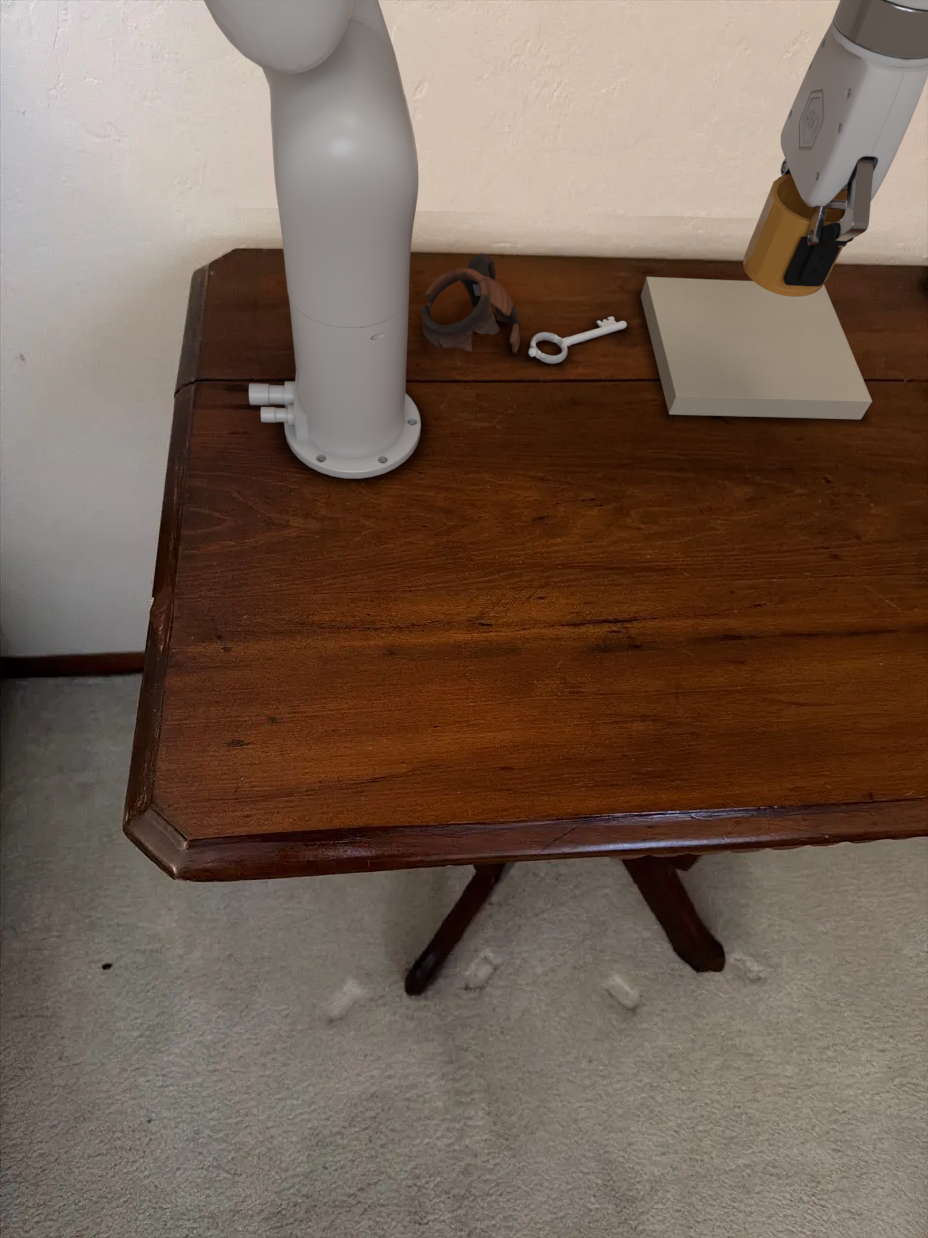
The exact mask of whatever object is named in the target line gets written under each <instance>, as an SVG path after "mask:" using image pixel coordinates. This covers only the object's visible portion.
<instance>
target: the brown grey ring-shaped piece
mask: <svg viewBox="0 0 928 1238" xmlns="http://www.w3.org/2000/svg"><path fill="white" fill-rule="evenodd" d="M459 281H460V282H461V283H462V285H463V287H464V288H465V290H466V291H467V293H468V297H469V299H470V302H471V306H472V307H474V309H473V310H472V311H471V313H470V314H468V316H466V317H465V318H463V319H462V320H460V321H458V322H454V323H452V324H440V323H437V322H436V321H434V320H433V318H432V316H431V310H432V309H431V308H432V306H433V304H434V302H435V301H436V299H437V298H438V296H440V294H441V293H442V292H443V291H444V290H446V289H447V288H448V287H450V286H451V285H453V284H455V283H457V282H459ZM424 297H425V299H426V300H427V303H425V304H423V306H422V307H421V309H420V310H419V313H420V317H421V320H422V334H423V336H424V338H425V339H426V340H427V341H428V342H429V343H430V344H431V345H433V346H434V347H436V348H439V349H440V348H443V349H445V350H446V349H447V350H450V349H462V350H465V351H466V352H470V353H473V351H474V350H473V348H472V347H473V332H475V333H476V334H479V335H490V336H494V335H496V334H498V333H499V332H500V330H501V328H500V325H498V323H497V321H500V322H503V323H505V324H507V325H509V326H510V327H511V328H512V329H511V333H510V337H509V344H510V345H511V351H512V353H513V354H516V353H517V352H518V350H519V347H520V342H521V335H520V322H519V318H518V315H517V311H516V308H515V305H514V303H513V300H512V297H510V295H509V294H508V292H507V291H506V290H505V288H504V287H503V286H502V285H501V284H500V283H499V282H498V281H496V264H495V260H494V259H493V258H492V257H491V256H490V255H488V254H487V253H480V254H476V255H474V256H473V257H472V258H471V259H470V260H469V262H468V264H467V267H459V268H455V269H452V270H449V271H447V272H445V273H442V274H441V275H440V276H438V277H437V278H436V280H434V281H433V282H432V283H431V284H430V285H429V287H428V288H427V289H426V291H425V293H424ZM492 307H494V311H495V314H496V315H495V314H494V311H493V308H492ZM496 320H497V321H496Z"/></svg>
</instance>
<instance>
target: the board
mask: <svg viewBox="0 0 928 1238" xmlns="http://www.w3.org/2000/svg"><path fill="white" fill-rule="evenodd" d="M640 300H641V303H642V304H641V305H642V308H643V312H644V316H645V321H646V325H647V328H648V332H649V337H650V341H651V345H652V350H653V353H654V357H655V362H656V365H657V370H658V374H659V378H660V383H661V387H662V391H663V394H664V399H665V403H666V408H667V412H668V415H670V416H671V415H673V416H675V415H677V416H711V417H713V416H714V417H748V418H750V417H751V418H753V417H755V418H790V419H791V418H792V419H795V418H796V419H830V420H831V419H833V420H862V418H863V417H864V415H865V413H866V412H867V411H868V409H869V408H870V406H871V404H872V403H873V400H872V397H871V395H870V393H869V390H868V387H867V385H866V383H865V380H864V378H863V376H862V373H861V371H860V368H859V365H858V363H857V361H856V359H855V355H854V354H853V351H852V349H851V346H850V344H849V341H848V339H847V336H846V334H845V331H844V330H843V328H842V327H843V326H842V325H841V322H840V319H839V317H838V315H837V313H836V310H835V307H834V305H833V303H832V301H831V298H830V295H829V293H828V291H827V289H826V286H825V284H824V285H823V286H822V288H821V289H820V290H818V291H817V292H815V293H813V294H811V295H807V296H801V297H791V296H784V295H780V294H776V293H773V292H771V291H768V290H766V289H764V288H762V287H761V286H759V285H758V284H756V283H755V282H754V281H753V280H737V279H736V280H734V279H733V280H732V279H712V278H711V279H710V278H709V279H708V278H687V277H686V278H685V277H660V276H646V277H645V280H644V283H643V286H642V290H641V294H640Z"/></svg>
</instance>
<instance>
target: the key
mask: <svg viewBox="0 0 928 1238" xmlns="http://www.w3.org/2000/svg"><path fill="white" fill-rule="evenodd" d="M596 324H597V325H598V328H595V329H590V330H587V331H584V332H580V333H577V334H572V335H571V336H566V337H563V338H562V337H561V336H558V335H557V334H555V333H553V332H548V331H543V332H542V331H541V332H538V333H536V334H535V335H533V337H531V340H530V342H529V343H530V345H529V349H528V351H527V353H528V355H529V357H530V358H534V357H535V358H537V359H539V360H540V361H541V362H543V363H546V364H552V365H553V364H558V363H562V362H563V361H564V360H565V359H566V358H567V356H568V347H570V346H571V345H576V344H578V343H582V342H585V341H588V340H591V339H595V338H598V337H600V336H605V335H608V334H611V333H614V332H617V331H620V330H624V329H625V328H626V327H627V326H628V325H627V324H628V323H627V322H626V321H625V320H619V321H616V320H615V317H614V316H608V317H607V318H606V319H602V321H601V320H596ZM541 341H549V342H551V343H555V344H556V345H557V346H558V347H560V350H561V353H559V354H555V355H552V354H551V355H550V354H547V353H544V352H542V351H541V350H539V348H538V347H537V343H538V342H541Z"/></svg>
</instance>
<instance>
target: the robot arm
mask: <svg viewBox="0 0 928 1238" xmlns="http://www.w3.org/2000/svg"><path fill="white" fill-rule="evenodd" d="M203 2H204V4H205V6H206V8H207V10H208V12H209V14H210V15H211V18H212V19H213V21H214V23H215V25H216V26H217V28H218V29H219V30H220V31H221V33H222V34H223V35H224V37H225V38H226V39H227V41H228V42H229V43H230V44H231V45H232V46H233V47H234V48H235V49H236V50H237V51H238V52H239V53H240V54H241V55H242V56H243V57H245V58H246V59H248V60H249V61H251V62H252V63H253V64H255V65H257V66H258V67H260V68H261V69H262V72H263V74H264V77H265V79H266V82H267V85H268V88H269V99H270V102H269V103H270V127H271V128H270V129H271V143H272V144H271V145H272V160H273V174H274V175H273V176H274V185H275V193H276V202H277V208H278V215H279V225H280V231H281V233H280V234H281V239H282V240H281V241H282V250H283V251H282V253H283V259H284V271H285V279H286V290H287V296H288V302H289V303H288V304H289V312H290V314H289V315H290V323H291V332H292V333H291V334H292V343H293V344H292V345H293V353H294V354H293V355H294V363H295V379H294V380H293V381H291V380H290V381H289V380H286V381H284V385H280V384H279V385H277V384H270V383H255V382H253V383H252V382H249V384H248V401H249V402H248V403H249V405H250V406H261V407H260V421H261V423H283V426H284V427H283V428H284V435H285V438H286V439H285V440H286V443H287V444H288V446H289V448H290V450H291V452H292V453H293V454H294V455H295V456H296V457H297V458H298V460H300V461H301V462H302V463H303V464H304V465H306V466H307V467H309V468H311V469H313V470H315V471H316V472H319V473H321V474H325V475H327V476H330V477H333V478H334V477H336V478H341V479H365V478H374V477H377V476H381V475H383V474H384V475H385V474H387V473H388V472H390V471H392V470H395V469H397V468H398V467H400V466H401V465H402V464H403V463H405V462H406V461H407V460H408V459H409V458H410V457H411V456H412V455H413V453H414V452H415V450H416V448H417V447H418V444H419V440H420V437H421V430H422V429H421V428H422V425H421V423H422V422H421V416H420V412H419V409H418V407H417V405H416V403H415V402H414V400H413V398H412V397H411V396H409V394H407V392H406V390H407V389H406V388H407V387H406V386H407V362H408V361H407V360H408V359H407V358H408V336H409V335H408V333H409V309H410V308H409V307H410V306H409V305H410V274H411V273H410V272H411V254H412V253H411V252H412V242H413V241H412V239H413V232H414V231H413V230H414V224H415V217H416V211H417V204H418V197H419V159H418V151H417V150H418V149H417V144H416V143H417V142H416V138H415V131H414V127H413V122H412V119H411V115H410V110H409V105H408V101H407V97H406V94H405V90H404V86H403V80H402V76H401V72H400V67H399V64H398V59H397V57H396V52H395V49H394V45H393V42H392V40H391V36H390V33H389V29H388V26H387V23H386V20H385V17H384V14H383V11H382V8H381V5H380V1H379V0H203ZM834 12H835V13H834V15H833V17H832V20H831V23H830V24H829V25H828V28H827V30H826V32H825V33H824V36H823V37H822V39H821V42H820V43H819V45H818V47H817V49H816V51H815V53H814V55H813V58H812V60H811V62H810V64H809V66H808V68H807V69H806V70H807V71H806V73H805V75H804V77H803V79H802V82H801V84H800V86H799V89H798V91H797V93H796V95H795V98H794V100H793V103H792V104H791V108H790V110H789V113H788V115H787V117H786V119H785V122H784V125H783V127H782V130H781V133H780V147H781V150H782V154H783V157H784V159H783V161H782V162H781V166H780V174H781V176H782V175H786V174H790V173H791V175H792V177H793V180H794V182H795V185H796V187H797V189H798V192H799V194H800V196H801V198H802V200H803V201H804V203H805V204H806V205H807V206H809V207H814V210H813V215H812V219H811V223H810V228H809V232H808V237H801V239H800V241H799V244H798V246H797V248H796V250H795V253H794V255H793V257H792V259H791V262H790V264H789V266H788V268H787V271H786V273H785V275H784V278H783V279H784V282H785V284H786V285H793V286H814V287H818V286H821V285H822V284H823V283H824V281H825V279H826V277H827V275H828V273H829V271H830V269H831V267H832V265H833V263H834V261H835V259H836V257H837V255H838V253H839V251H840V249H841V247H843V248H845V247H846V246H847V245H848V243H851V242H853V241H854V239H855V238H856V237H858V236H860V235H862V234H865V232H867V230H868V228H869V224H870V216H871V215H870V214H871V204H872V201H873V200H874V198H875V196H876V195H877V193H878V191H879V189H880V187H881V186H882V184H883V182H884V180H885V178H886V176H887V174H888V173H889V170H890V168H891V166H892V164H893V162H894V160H895V157H896V155H897V154H898V151H899V149H900V146H901V144H902V142H903V140H904V138H905V135H906V133H907V130H908V128H909V127H910V123H911V122H912V118H913V115H914V114H915V111H916V109H917V107H918V104H919V101H920V98H921V96H922V93H923V91H924V88H925V85H926V82H927V80H928V0H839V2H838V5H837V7H836V9H835V11H834ZM840 191H847V199H846V200H837V199H833V198H834V197H835V196H836V195H837V194H838V193H839V192H840ZM827 209H839V210H842V212H841V216H840V221H839V222H838V223H831V224H828V225H826V226H824V227H823V225H824V221H825V217H826V213H827ZM825 282H826V281H825ZM824 284H825V283H824ZM271 405H283V406H284V407H275V406H271Z"/></svg>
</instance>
